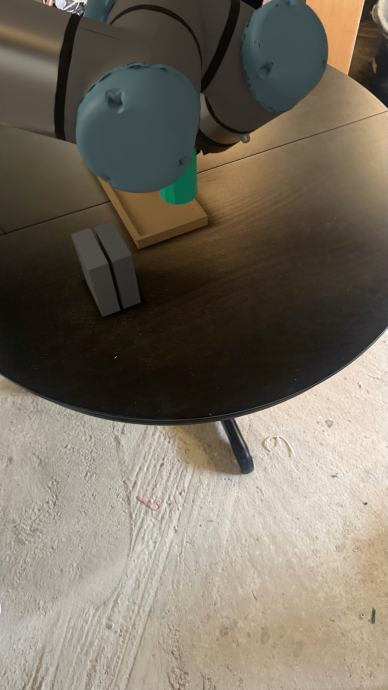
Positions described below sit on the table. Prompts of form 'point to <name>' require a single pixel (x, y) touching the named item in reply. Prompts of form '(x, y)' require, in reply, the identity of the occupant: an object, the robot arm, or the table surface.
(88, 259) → the grey book
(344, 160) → the table surface
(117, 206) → the tray
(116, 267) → the grey book
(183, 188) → the candle
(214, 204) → the table surface
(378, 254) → the table surface
